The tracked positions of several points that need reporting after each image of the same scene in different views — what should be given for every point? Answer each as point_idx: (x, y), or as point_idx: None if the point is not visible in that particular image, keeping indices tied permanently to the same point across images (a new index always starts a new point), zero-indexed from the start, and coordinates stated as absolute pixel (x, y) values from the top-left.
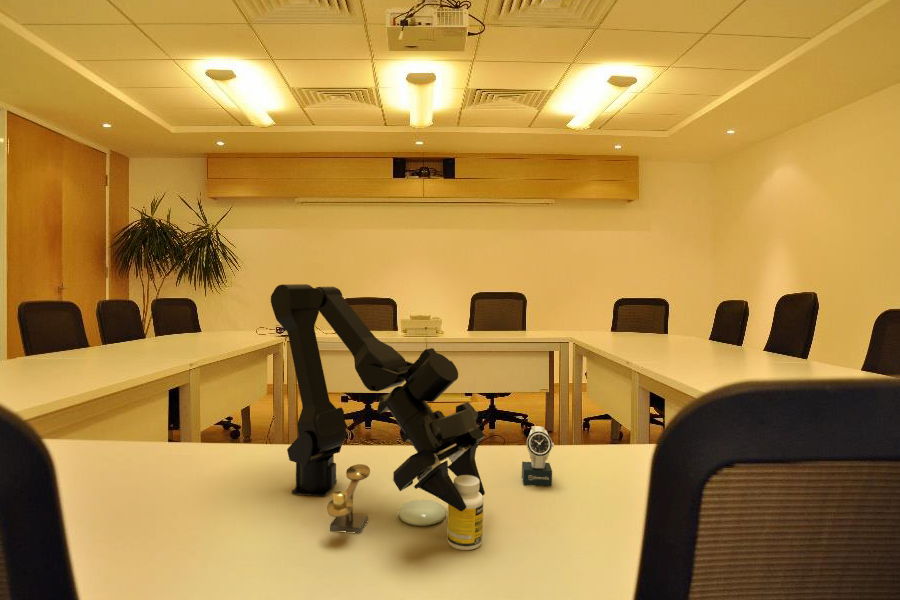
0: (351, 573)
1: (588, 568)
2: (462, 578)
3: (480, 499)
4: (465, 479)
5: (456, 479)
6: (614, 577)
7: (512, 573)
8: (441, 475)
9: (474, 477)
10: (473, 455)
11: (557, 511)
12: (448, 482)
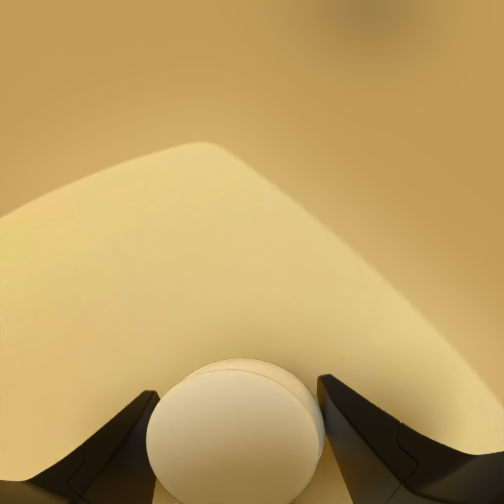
0: None
1: (179, 182)
2: (372, 323)
3: (227, 362)
4: (227, 461)
5: (271, 499)
6: (182, 155)
7: (283, 260)
8: (490, 453)
9: (161, 430)
10: (19, 489)
11: (27, 302)
12: (420, 447)
